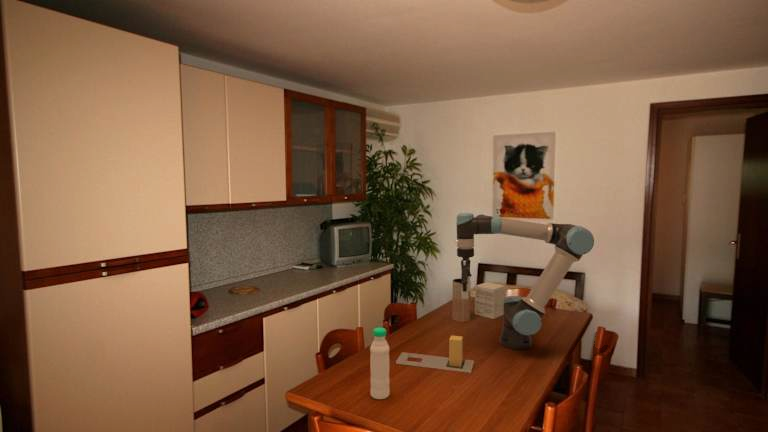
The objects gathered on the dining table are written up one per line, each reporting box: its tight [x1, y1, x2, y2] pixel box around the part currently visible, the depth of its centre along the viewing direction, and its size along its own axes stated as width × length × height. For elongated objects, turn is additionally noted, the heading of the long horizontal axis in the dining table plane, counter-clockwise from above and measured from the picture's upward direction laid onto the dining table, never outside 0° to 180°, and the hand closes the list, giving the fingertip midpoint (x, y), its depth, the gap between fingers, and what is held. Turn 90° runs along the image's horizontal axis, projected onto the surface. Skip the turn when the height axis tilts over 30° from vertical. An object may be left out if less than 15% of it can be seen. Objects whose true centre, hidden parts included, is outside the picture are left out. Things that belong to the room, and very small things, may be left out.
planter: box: [451, 278, 472, 323], centre depth 248 cm, size 10×10×23 cm
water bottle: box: [369, 327, 391, 400], centre depth 160 cm, size 7×7×25 cm
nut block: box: [448, 334, 464, 367], centre depth 186 cm, size 5×5×12 cm
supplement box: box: [474, 281, 507, 320], centre depth 258 cm, size 13×13×18 cm
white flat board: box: [395, 352, 475, 374], centre depth 189 cm, size 32×10×1 cm, turn 73°
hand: (466, 294), depth 197 cm, fingers open, 13 cm apart
